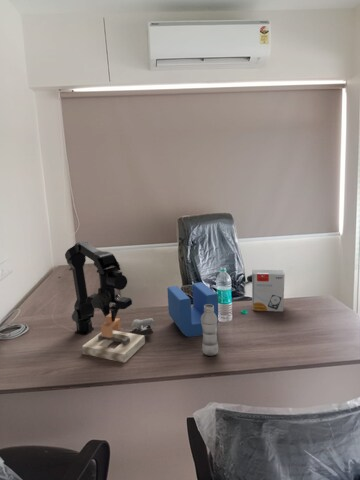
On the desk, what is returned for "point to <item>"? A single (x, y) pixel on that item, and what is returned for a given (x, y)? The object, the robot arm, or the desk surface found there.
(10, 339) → the desk surface
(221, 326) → the desk surface
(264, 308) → the hard drive box
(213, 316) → the plastic bottle
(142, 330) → the clip-on lamp
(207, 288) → the block
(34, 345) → the desk surface
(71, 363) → the desk surface
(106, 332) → the wooden cross piece
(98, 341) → the beige square frame
